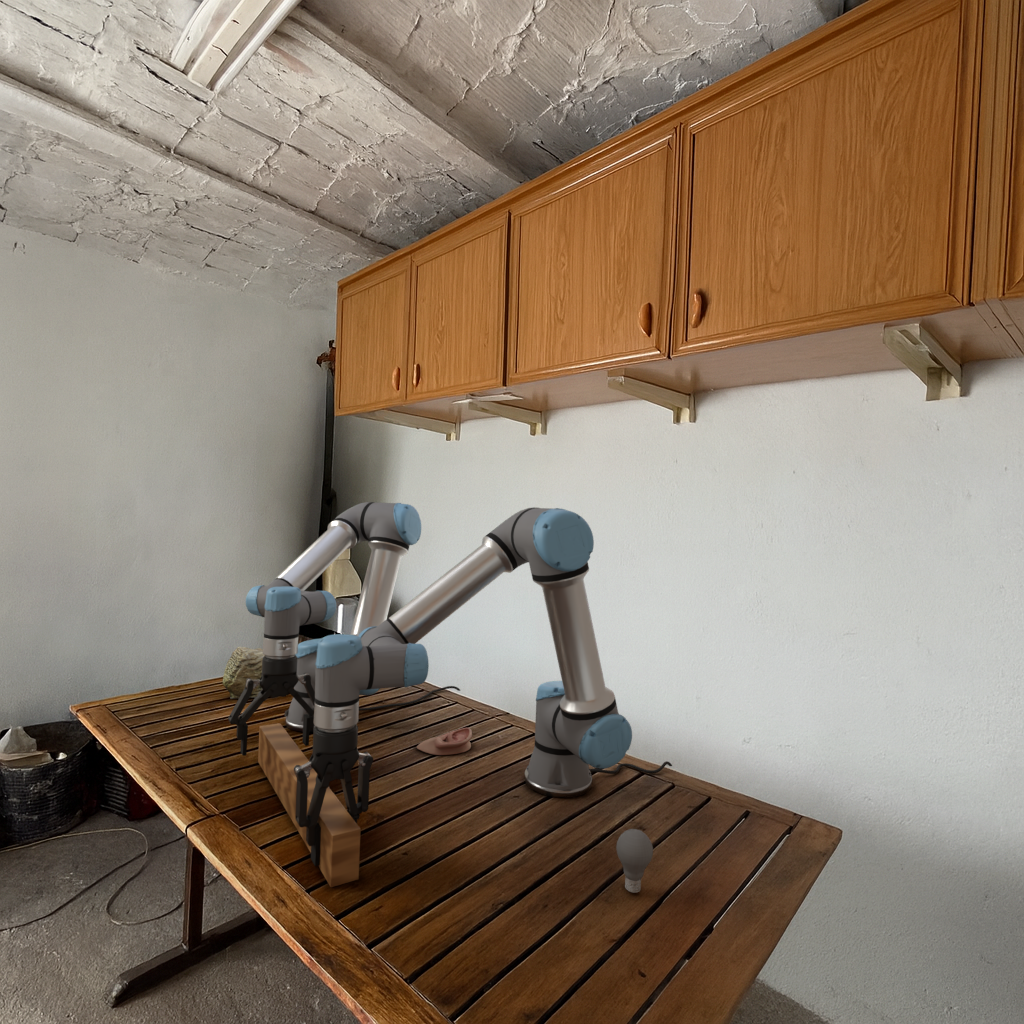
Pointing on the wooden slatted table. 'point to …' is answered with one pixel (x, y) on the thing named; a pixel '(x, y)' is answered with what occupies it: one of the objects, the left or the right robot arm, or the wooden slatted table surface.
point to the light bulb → (634, 857)
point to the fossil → (243, 670)
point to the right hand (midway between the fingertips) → (330, 857)
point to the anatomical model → (448, 743)
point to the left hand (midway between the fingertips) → (275, 748)
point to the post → (334, 820)
